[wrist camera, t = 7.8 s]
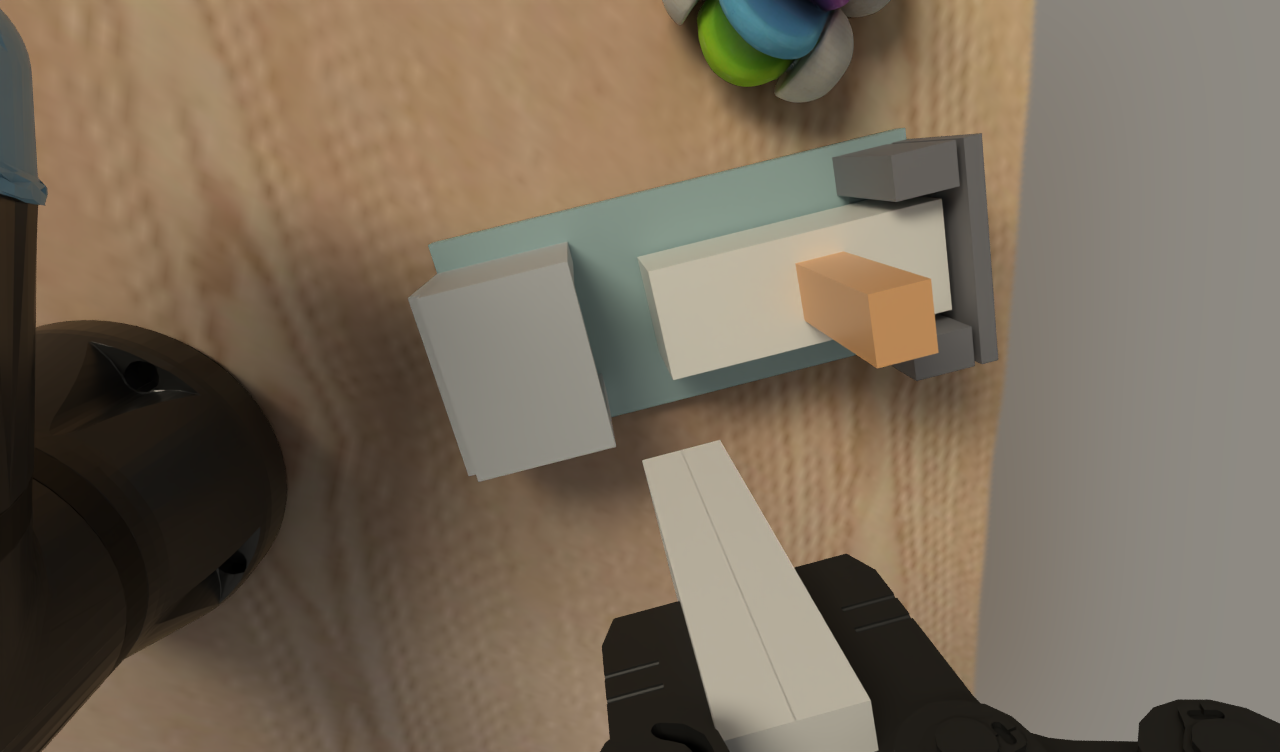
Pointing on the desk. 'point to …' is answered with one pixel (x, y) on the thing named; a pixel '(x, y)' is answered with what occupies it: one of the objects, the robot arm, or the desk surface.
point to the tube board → (617, 305)
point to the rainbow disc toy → (777, 41)
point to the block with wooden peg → (804, 287)
